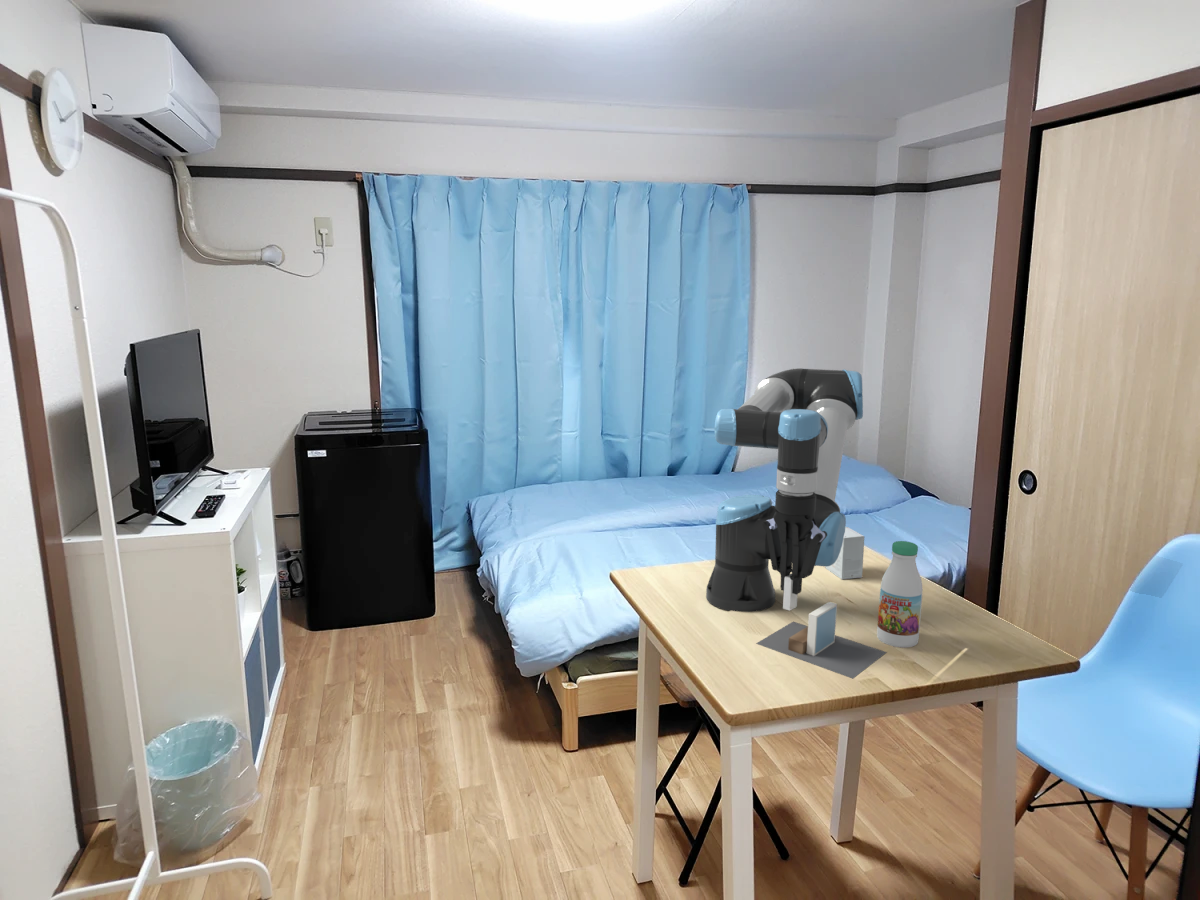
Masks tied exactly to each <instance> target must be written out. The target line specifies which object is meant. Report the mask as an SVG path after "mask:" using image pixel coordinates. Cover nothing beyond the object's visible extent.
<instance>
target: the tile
mask: <svg viewBox="0 0 1200 900" xmlns="http://www.w3.org/2000/svg"><path fill="white" fill-rule="evenodd" d="M837 608H838V604H837V603H835V602H831V601H827V602H826V603H824V604H823V605H821V606H819V607H818V608H816V609H815V610H813V611H811V612H810V613H808V621H807V626H808V636H807V654H810V655H813V656H815V655H816V654H818V653H819V652H821V651H822V650H824V649H825V648H827V647H828V646H830V645H831V644H833V643H834V642H835V635H836V625H837V611H838V609H837Z"/></svg>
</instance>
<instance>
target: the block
mask: <svg viewBox="0 0 1200 900" xmlns="http://www.w3.org/2000/svg"><path fill="white" fill-rule="evenodd" d="M806 626H807V627H806V628H804V629H803V630H801V631H799V632H798V633H796V634H795V635H793V636H791V637H790V638H789V646H788V650H791V651H794V652H796V653H799V654H802V655H803V654H804V653H806V652H807V636H808V625H806Z"/></svg>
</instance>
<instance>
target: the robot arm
mask: <svg viewBox="0 0 1200 900" xmlns="http://www.w3.org/2000/svg"><path fill="white" fill-rule="evenodd" d="M863 397H864V396H863V376H862V374H861V373H860V372H859V371H856V370H849V369H848V370H847V369H842V370H838V369H837V370H836V369H819V368H817V369H814V368H803V367H802V368H791V369H790V368H789V369H787V370H783V371H779V372H776V373H773V374H772V375H770V376H767V377H766V378H764V379H763V380H762V381H760V382H759V383H758V385H757V386H756V388H755V390H754V394H753V395H751V396H750V397H749V398H748V399H747V400H746V401H744V403H743V404H742V405H741V406H740V407H738V408H737V409H735V408H733V407H732V408H722V409H720V410H718V411H717V414H716V415H715V421H714V438H715V441H716V442H717V444H720V445H726V446H731V447H744V448H761V449H769V450H770V449H771V450H777V466H776V489H777V491H776V492H775V501H774V502H775V505H773V501H772V498H770V497H768V496H764V495H761V494H760V495H759V494H758V495H757V494H746V495H739V496H733V497H729V498H727V499H725V500H722V501H721V502H720V503H719V504H718V505H717V510H716V511H717V512H716V520H715V555H714V556H715V557H714V560H715V561H714V566H713V570H712V572H711V575H710V577H709V580H708V583H707V585H706V591H705V593H706V595H705V597H706V601H707V602H708V603H709V604H711V606H714V607H716V608H718V609H721V610H725V611H727V612H730V611H732V612H741V613H749V612H750V613H751V612H753V613H754V612H759V611H760V612H761V611H764V610H767V609H769V608H771V607H773V605H774V604H775V602H776V590H775V588H774V584H773V579H772V575H771V573H770V569H769V561H770V563H771V569H772V570H774V571H777V572H779V574H780V591H783V598H782V599H783V600H782V602H783V603H782V609H783V610H787V611H791V610H794V609H795V608H797V607H798V595H799V594H801V592H802V585H803V579H806V578H808V577H809V576H812V574H813V571H814V569H815V566H816V567H817V566H818V567H826V566H831V565H832V564H834V563H835V562H836V560H837V558H838V556H839V553H840V550H841V547H842V543H843V537H844V533H845V527H847V526H846V524H847V521H846V515H845V514H844V513H842V512H841V509H840V506H839V504H838V503H837V502H836V496H837V489H838V484H839V478H840V472H841V467H842V466H841V465H842V460H843V455H844V454H843V453H844V449H845V442H846V435H847V431H849V430H850V429H851V428H852V427H853V426H854V424H855V422H856V421H857V420H861V419H863V415H864V414H863V413H864V405H863V404H864V403H863V402H864V401H863V399H864V398H863Z"/></svg>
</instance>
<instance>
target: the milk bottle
mask: <svg viewBox="0 0 1200 900" xmlns="http://www.w3.org/2000/svg"><path fill="white" fill-rule="evenodd" d="M918 548H919V546H918V545H917V544H916V543H914V542H911V541H906V540H905V541H904V540H897V541H894V542H892V545H891V550H892V551H891V555H892V557H891V558H892V559H891V561H890V563H889V565H888V567H887V568H886V570H885V572H884V574H883V575H882V579H881V583H880V590H879V600H878V611H877V613H878V615H877V627H876V636H877V639H878V640H879V641H880V642H881V643H883V644H885V645H888V646H891V647H894V648H913V647H915V646H916V645H918V643H919V637H920V628H921V616H922V605H923V581H922V577H921V575H920V572H919V569H918V566H917V560H916V558H917V557H918V552H919V549H918Z"/></svg>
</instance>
